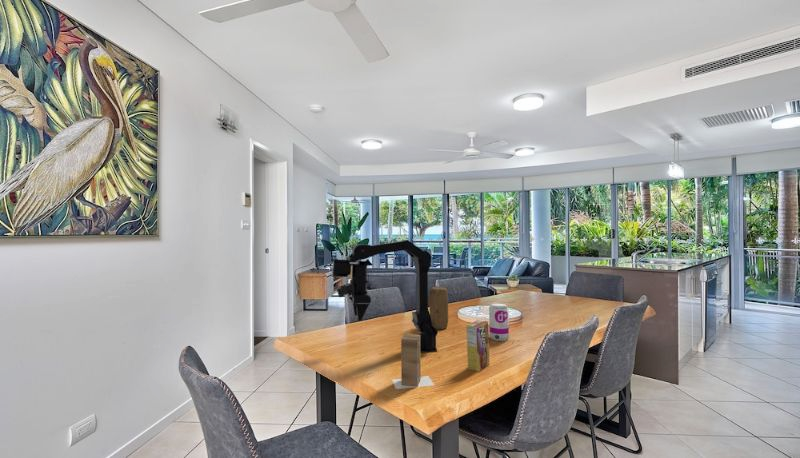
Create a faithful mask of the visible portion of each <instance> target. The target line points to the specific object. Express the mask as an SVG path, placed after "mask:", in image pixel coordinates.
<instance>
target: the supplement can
mask: <svg viewBox="0 0 800 458" xmlns="http://www.w3.org/2000/svg"><path fill="white" fill-rule="evenodd" d="M488 312H489V313H488V315H489V317H488V336H489V338H490V339H491V340H492V339H493V340H492V341H496V342H504V341H508V339H509V338H510V336H509V335H510V333H509V329H510V327H509V326H510V323H509V307H508V305H507V304H505V303H497V302H496V303H490V305H489V307H488Z"/></svg>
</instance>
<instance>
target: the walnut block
mask: <svg viewBox="0 0 800 458" xmlns="http://www.w3.org/2000/svg"><path fill="white" fill-rule="evenodd" d="M400 343H401V344H400V349H401V350H400V353H401V354H400V355H401V357H400V360H401V366H400V367H401V370H400V371H401V373H400V374H401V375H400V376H401V379H402V385H406V386H417V387H416V388H419V387H418V385H419V382H420V380H421V377H422V376H421V351H420V335H419V334H408V333H407V334H406V333H405V334H404V335H402V337H401V338H400Z"/></svg>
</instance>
